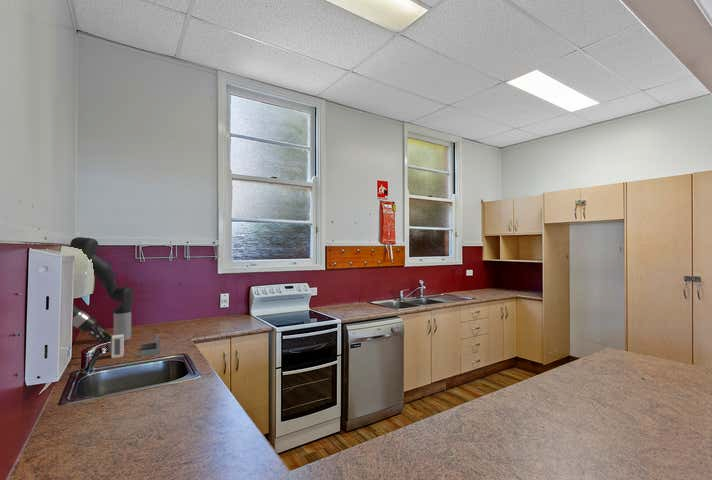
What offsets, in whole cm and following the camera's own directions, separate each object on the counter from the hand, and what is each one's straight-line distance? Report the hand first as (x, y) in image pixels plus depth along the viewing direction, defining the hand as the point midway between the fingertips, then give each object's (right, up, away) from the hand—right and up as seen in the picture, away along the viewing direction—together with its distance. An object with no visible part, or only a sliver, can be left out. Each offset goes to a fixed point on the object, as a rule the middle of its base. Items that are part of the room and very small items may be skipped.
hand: (109, 340), depth 186 cm
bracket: (+15, -9, +9) cm, 20 cm away
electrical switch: (-8, -9, +12) cm, 17 cm away
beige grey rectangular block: (+3, -9, +2) cm, 10 cm away
